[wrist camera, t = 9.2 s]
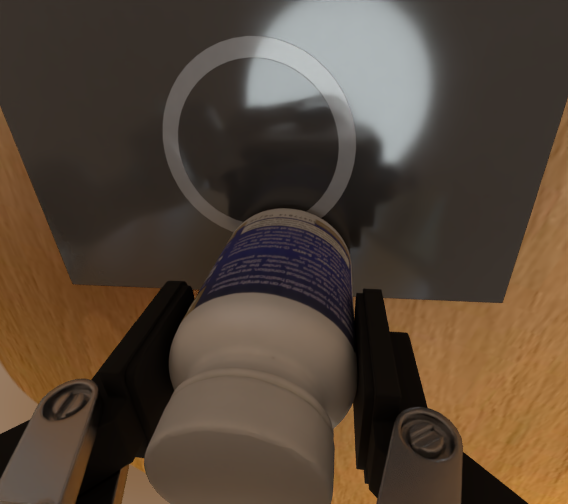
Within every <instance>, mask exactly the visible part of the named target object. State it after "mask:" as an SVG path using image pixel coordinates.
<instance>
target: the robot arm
mask: <svg viewBox="0 0 568 504" xmlns="http://www.w3.org/2000/svg"><path fill="white" fill-rule="evenodd" d="M193 301H194V295H193V290H192V287H191V286H188V285H187V283H186V282H185V281H167V282H166V283H165V284H164V286H163V287H162V288H161V290H160V291H159V292H158V294H157V295H156V296H155V297H154V299H153V300H152V301H151V303H150V304H149V305H148V307H147V308H146V309H145V311H144V312H143V313H142V315H141V316H140V317H139V319H138V320H137V321H136V322H135V323H134V325H133V326H132V327H131V328H130V330H129V331H128V332H127V334H126V335H125V336H124V338H123V339H122V340H121V342H120V343H119V344H118V346H117V347H116V348H115V349H114V351H113V352H112V353H111V355H110V356H109V357H108V359H107V360H106V361H105V363H104V364H103V365H102V367H101V368H100V369H99V371H98V372H97V373H96V374H95V376H94V377H93V378H92V380H89V379H75V380H71V381H68V382H65V383H63V384H61V385H59V386H57V387H56V388H54V389H53V390H51V391H50V392H49V393H48V394H47V395H46V396H45V397H43V398H42V400H41V401H40V403H39V404H38V406H37V408H36V410H35V412H34V414H33V416H32V418H31V419H30V420H28V421H26V422H24V423H22V424H20V425H18V426H16V427H14V428H12V429H10V430H8V431H6V432H4V433H2V434H0V504H121V503H122V498H123V494H124V488H125V484H126V479H127V474H128V469H129V464H130V463H132V462H133V460H134V458H135V457H139V458H145V453H146V450H147V447H148V445H149V443H150V440H151V438H152V436H153V434H154V432H155V430H156V427H157V425H158V423H159V421H160V418H161V416H162V414H163V412H164V409H165V408H166V406H167V404H168V403H169V401H170V399H171V396H172V394H173V392H174V388H173V386H172V382H171V379H170V374H169V354H170V348H171V344H172V341H173V339H174V336H175V334H176V332H177V330H178V327H179V325H180V323H181V322H182V320H183V318H184V317H185V315H186V313H187V312H188V310H189V308H190V306H191V304H192V303H193ZM354 324H355V340H356V355H357V370H358V382H357V390H356V395H355V398H354V401H353V407H354V429H355V451H356V468H357V469H361V470H364V478H365V483H366V484H369V490H370V491H371V492H372V493H373V494H374V495H375V496H376V497H377V498H378V499H377V504H528V503H527V502H526V501H524V500H523V499H522V498H521V497H519V496H518V495H517V494H516V493H514V492H513V491H512V490H511V489H509V488H508V487H507V486H505V485H504V484H503V483H502V482H500V481H499V480H498V479H497V478H495V477H494V476H493V475H492V474H490V473H489V472H488V471H487V470H485V469H484V468H483V467H481V466H480V465H479V464H478V463H476V462H475V461H474V460H473V459H471V458H470V457H469V456H468V455H466V454H465V453H464V452H463V445H462V438H461V436H460V434H459V432H458V430H457V428H456V427H455V426H454V425H453V424H452V422H451V421H450V420H449V419H447V418H446V417H445V416H443V415H442V414H441V413H439V412H436V411H434V410H432V409H429V408H427V404H426V400H425V396H424V392H423V388H422V384H421V380H420V377H419V373H418V369H417V365H416V361H415V357H414V353H413V349H412V345H411V341H410V338H409V335H408V333H402V332H389V326H388V321H387V316H386V310H385V305H384V300H383V295H382V290H381V289H363V293H356V303H355V317H354Z"/></svg>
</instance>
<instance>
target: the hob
mask: <svg viewBox="0 0 568 504" xmlns="http://www.w3.org/2000/svg"><path fill="white" fill-rule="evenodd" d="M567 98H568V0H0V106H1V109H2V111H3V114H4V116H5V119H6V121H7V123H8V126H9V128H10V131H11V133H12V136H13V138H14V141H15V143H16V146H17V148H18V151H19V153H20V156H21V158H22V160H23V163H24V165H25V168H26V170H27V173H28V175H29V178H30V180H31V183H32V185H33V188H34V190H35V193H36V195H37V197H38V200H39V202H40V205H41V207H42V210H43V212H44V215H45V217H46V220H47V222H48V225H49V227H50V230H51V232H52V234H53V237H54V239H55V242H56V244H57V247H58V249H59V252H60V254H61V257H62V259H63V262H64V264H65V267H66V269H67V271H68V274H69V276H70V279H71V281H72V284H78V285H101V286H124V287H147V288H162V287H163V286H164V284H165V283H166V282H167V281H185V282H186V283H187V285H188V286H191V287H192V290H200V289H201V287H202V286H203V284H204V282H205V281H206V279H207V277H208V276H209V274H210V272H211V270H212V268H213V267H214V265H215V263H216V262H217V260H218V258H219V256H220V255H221V253H222V251H223V250H224V248H225V246H226V244H227V242H228V241H229V239H230V238H231V236H232V234H233V233H234V231H235V230H236V229H237V228H238V227H239V226H240V225H241V224H242V223H243V222H244V221H246V220H247V219H249V218H250V217H252V216H254V215H256V214H258V213H260V212H264V211H267V210H272V209H280V208H286V209H296V210H301V211H305V212H308V213H311V214H313V215H316V216H317V217H319V218H321V219H323V220H324V221H326V222H327V223H328V224H330V225H331V226H332V227H333V228H334V229H335V230H336V231H337V232H338V233H339V235H340V236H341V237H342V239H343V241H344V242H345V244H346V246H347V249H348V251H349V254H350V259H351V270H352V293H353V297H356V293H363V289H381V290H382V295H383V298H398V299H421V300H444V301H467V302H490V303H503V300H504V297H505V294H506V291H507V287H508V284H509V281H510V278H511V275H512V272H513V268H514V265H515V262H516V259H517V256H518V253H519V250H520V246H521V243H522V240H523V237H524V234H525V231H526V228H527V224H528V221H529V218H530V215H531V212H532V209H533V206H534V202H535V199H536V196H537V193H538V190H539V187H540V183H541V180H542V177H543V174H544V171H545V168H546V165H547V161H548V158H549V155H550V152H551V149H552V146H553V143H554V139H555V136H556V133H557V130H558V127H559V124H560V121H561V117H562V114H563V111H564V108H565V105H566V102H567Z"/></svg>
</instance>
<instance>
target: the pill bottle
mask: <svg viewBox="0 0 568 504" xmlns="http://www.w3.org/2000/svg"><path fill="white" fill-rule="evenodd" d="M169 374H170V379H171V382H172V386H173V388H174V392H173V394H172V396H171V399H170V401H169V403H168V404H167V406H166V408H165V409H164V412H163V414H162V416H161V418H160V421H159V423H158V425H157V427H156V430H155V432H154V434H153V436H152V438H151V440H150V443H149V445H148V447H147V450H146V453H145V458H144V466H145V471H146V475H147V477H148V479H149V482H150V483H151V484H152V486H153V487H154V489H155V490H156V491H157V492H158V493H159V494H160V495H161V496H162V497H163V498H164V499H165V500H167V501H168V502H169V503H170V504H330V503H331V500H332V494H333V478H334V441H333V437H334V434H333V429H334V428H335V427H336V426H337V425H338V424H339V423H340V422H341V421H342V420H343V419H344V417H345V416H346V414H347V413H348V411H349V409H350V408H351V406H352V403H353V401H354V398H355V395H356V390H357V382H358V370H357V355H356V340H355V324H354V309H353V293H352V270H351V259H350V254H349V251H348V249H347V246H346V244H345V242H344V241H343V239H342V237H341V236H340V235H339V233H338V232H337V231H336V230H335V229H334V228H333V227H332V226H331V225H330V224H328V223H327V222H326V221H324V220H323V219H321V218H319V217H317V216H316V215H313V214H311V213H308V212H305V211H301V210H296V209H286V208H280V209H272V210H267V211H264V212H260V213H258V214H256V215H254V216H252V217H250V218H249V219H247V220H246V221H244V222H243V223H242V224H241V225H240V226H239V227H238V228H237V229H236V230H235V231H234V233H233V234H232V236H231V238H230V239H229V241H228V242H227V244H226V246H225V248H224V250H223V251H222V253H221V255H220V256H219V258H218V260H217V262H216V263H215V265H214V267H213V268H212V270H211V272H210V274H209V276H208V277H207V279H206V281H205V282H204V284H203V286H202V287H201V289H200V291H199V293H198V295H197V296H196V298H195V300H194V301H193V303H192V304H191V306H190V308H189V310H188V312H187V313H186V315H185V317H184V318H183V320H182V322H181V323H180V325H179V327H178V330H177V332H176V334H175V336H174V339H173V341H172V344H171V348H170V354H169Z"/></svg>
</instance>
